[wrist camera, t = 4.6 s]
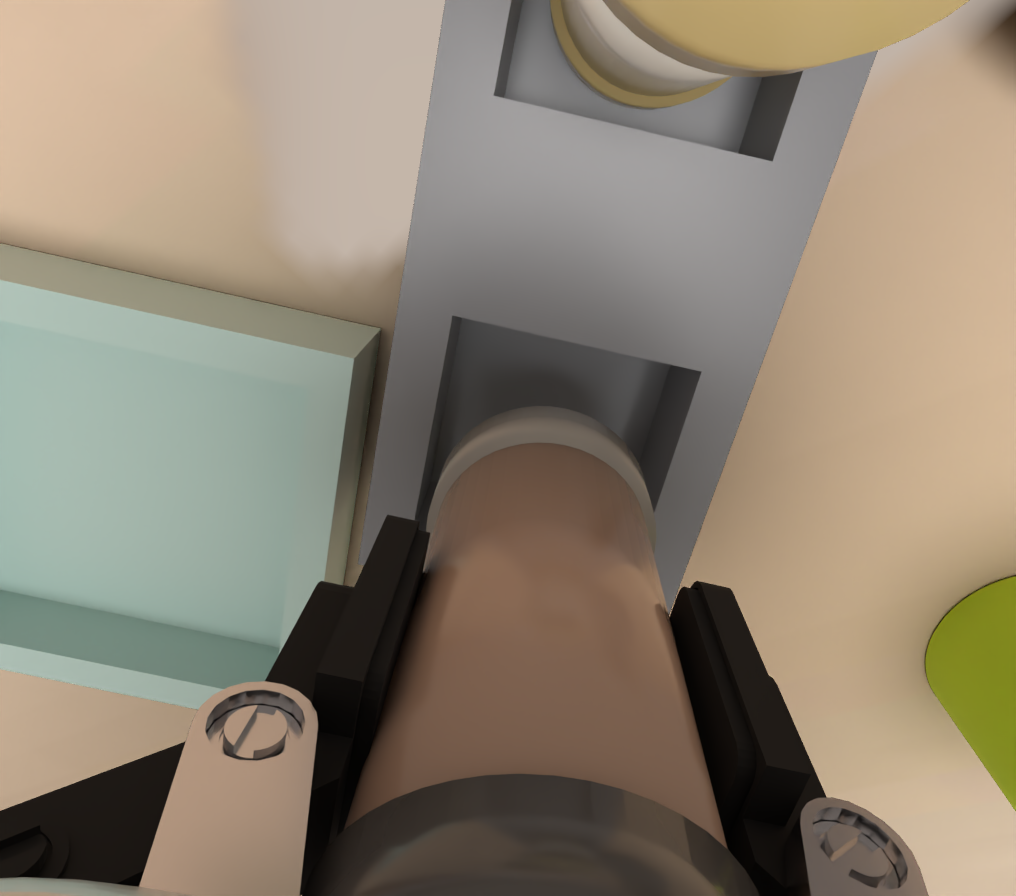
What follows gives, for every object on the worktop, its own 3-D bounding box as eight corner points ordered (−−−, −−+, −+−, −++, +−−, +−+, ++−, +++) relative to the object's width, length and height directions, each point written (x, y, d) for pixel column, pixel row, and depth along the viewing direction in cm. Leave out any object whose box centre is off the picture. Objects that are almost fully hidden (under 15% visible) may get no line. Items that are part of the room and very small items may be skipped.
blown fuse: (614, 611, 17) (711, 1314, 7) (421, 570, 17) (223, 1225, 7) (674, 432, 15) (927, 1025, 5) (457, 384, 15) (263, 894, 5)
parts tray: (331, 665, 25) (303, 731, 22) (-20, 592, 24) (-93, 650, 22) (380, 328, 20) (353, 358, 17) (-54, 230, 20) (-152, 245, 17)
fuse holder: (644, 548, 22) (663, 629, 19) (390, 493, 22) (357, 564, 18) (888, -171, 15) (995, -269, 12) (517, -265, 15) (506, -396, 11)
